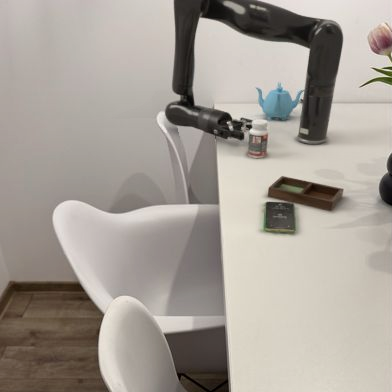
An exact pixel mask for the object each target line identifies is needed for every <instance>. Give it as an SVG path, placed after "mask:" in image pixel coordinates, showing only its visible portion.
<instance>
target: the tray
mask: <svg viewBox="0 0 392 392" xmlns="http://www.w3.org/2000/svg"><path fill="white" fill-rule="evenodd" d="M344 190H345V188H341V187H336V186H330V185H327V184H322V183H317V182H312V181H307V180H304V179H303V180H302V179H298V178H294V177H289V176H285V175H281V176H280V177H279V178H278V179H277V180H275V181H274V182H273V183H272V184H271V185H270V186H269V187H268V190H267V197H268V198H272V199H276V200H281V201H284V202H289V203H293V204H297V205H303V206H307V207H310V208H311V207H312V208H315V209H319V210H324V211H328V212H332V211H333V210H334V209H335V207H337V205H338V203H339V202H341V200H342V198H343V194H344Z"/></svg>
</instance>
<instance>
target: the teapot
mask: <svg viewBox="0 0 392 392" xmlns="http://www.w3.org/2000/svg"><path fill="white" fill-rule="evenodd" d="M254 88H255V89H256V91H257V93H258V105H259V106H260V108H261V110H262V112H263V114H264V115H265V116H267V118H266V119H267V120H271V121H272V120H273V119H274V118H279V119H280V120H281V121H286V120H287V118H286V117H289V116H290V115H291V114H292V113H293V111H294V109H295V108H297V106H298V105H299V102H300V99H301V98H300V97H301V96H302V93H304V89H301V90H298V92H297V94H296V97H295V99H294V100H293V98H292V96H291V94H290V92H289V91H288V90H286V89H284V87H283V86H282V83H281V82H280V81H279V82H277V87H276V89H271V90H270V91H269V92H268V93H267V95H266V96H265V98H263V91H262V89H261V88H259V87H256V86H255V87H254Z"/></svg>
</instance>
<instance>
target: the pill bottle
mask: <svg viewBox="0 0 392 392" xmlns="http://www.w3.org/2000/svg"><path fill="white" fill-rule="evenodd" d="M252 120H253V121H252V129H250V131H248V132H249V133H248V145H247V146H248V148H247V155H248V156H249V157H250V158H254V159H262V158H264V157H266V155H267V148H268V138H269V130H268V129H267V127H268V121H267V120H266V119H262V118H261V119H260V118H258V119H252Z"/></svg>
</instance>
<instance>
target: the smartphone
mask: <svg viewBox="0 0 392 392" xmlns="http://www.w3.org/2000/svg"><path fill="white" fill-rule="evenodd" d="M295 208H296V207H295V203H293V202H289V201H266V202H264V212H263V230H264V231H265V232H270V233H286V234H287V233H289V234H294V233H296V230H297V225H296V223H297V222H296V209H295Z"/></svg>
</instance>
